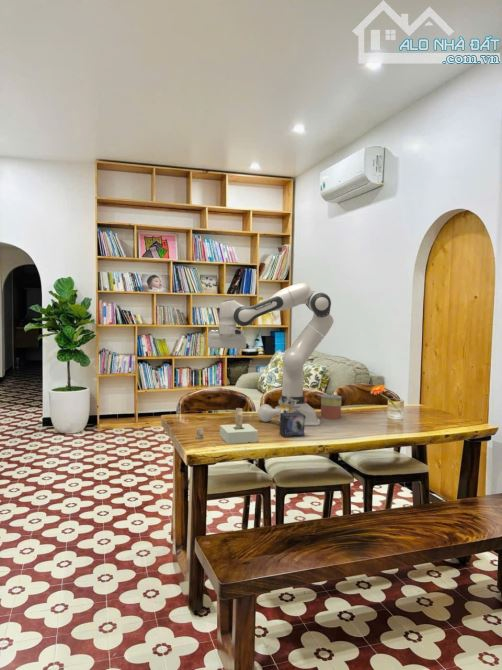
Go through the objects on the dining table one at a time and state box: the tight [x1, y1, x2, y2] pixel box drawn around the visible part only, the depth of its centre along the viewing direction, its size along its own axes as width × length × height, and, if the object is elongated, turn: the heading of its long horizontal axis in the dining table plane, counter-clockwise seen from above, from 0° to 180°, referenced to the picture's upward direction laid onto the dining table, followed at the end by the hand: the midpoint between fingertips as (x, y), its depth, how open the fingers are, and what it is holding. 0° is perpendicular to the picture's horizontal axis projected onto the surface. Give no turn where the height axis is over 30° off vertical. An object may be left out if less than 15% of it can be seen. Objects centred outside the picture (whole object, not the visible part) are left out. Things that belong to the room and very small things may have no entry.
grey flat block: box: [219, 423, 259, 445], centre depth 221 cm, size 14×14×5 cm
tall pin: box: [235, 407, 243, 430], centre depth 221 cm, size 3×3×14 cm
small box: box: [278, 412, 305, 438], centre depth 229 cm, size 11×6×10 cm, turn 106°
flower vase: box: [257, 394, 300, 423], centre depth 250 cm, size 13×18×25 cm
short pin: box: [195, 427, 204, 440], centre depth 220 cm, size 3×3×4 cm
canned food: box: [320, 394, 343, 421], centre depth 269 cm, size 11×11×12 cm
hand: (226, 356), depth 253 cm, fingers open, 8 cm apart
